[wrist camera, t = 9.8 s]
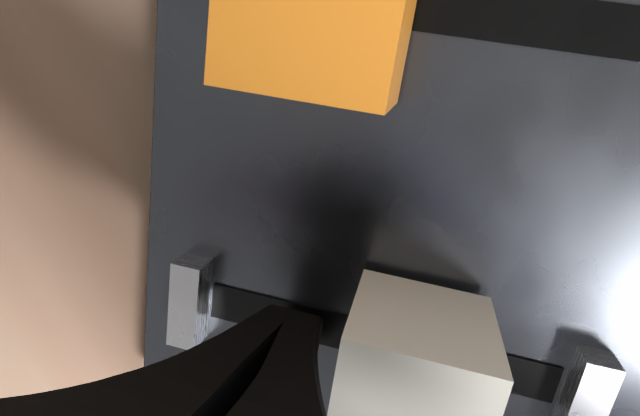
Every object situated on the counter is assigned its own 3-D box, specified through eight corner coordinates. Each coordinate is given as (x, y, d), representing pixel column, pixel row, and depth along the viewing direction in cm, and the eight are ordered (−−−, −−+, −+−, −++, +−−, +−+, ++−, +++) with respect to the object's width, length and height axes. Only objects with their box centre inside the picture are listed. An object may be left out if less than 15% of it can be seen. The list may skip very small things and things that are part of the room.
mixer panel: (654, 514, 13) (691, 587, 11) (163, 376, 16) (127, 417, 14) (977, -162, 8) (1132, -228, 7) (193, -210, 11) (144, -268, 9)
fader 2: (451, 435, 12) (459, 553, 9) (338, 404, 13) (310, 506, 10) (490, 297, 11) (513, 381, 8) (363, 269, 12) (341, 338, 9)
